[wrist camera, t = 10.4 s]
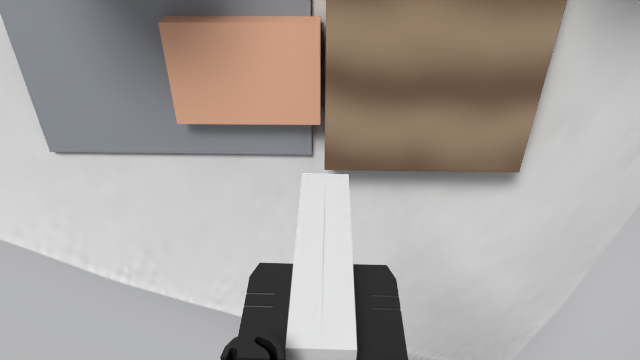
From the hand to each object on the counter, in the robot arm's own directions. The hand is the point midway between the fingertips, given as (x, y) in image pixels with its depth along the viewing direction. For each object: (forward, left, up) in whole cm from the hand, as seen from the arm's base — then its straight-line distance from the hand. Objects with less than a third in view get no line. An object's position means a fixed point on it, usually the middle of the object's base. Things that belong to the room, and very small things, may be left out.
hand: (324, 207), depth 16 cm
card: (+2, -5, -19) cm, 19 cm away
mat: (+2, -11, -19) cm, 22 cm away
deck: (+2, +7, -19) cm, 20 cm away
